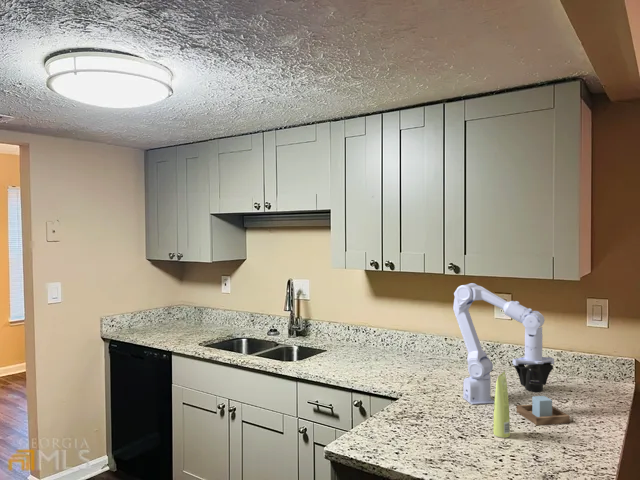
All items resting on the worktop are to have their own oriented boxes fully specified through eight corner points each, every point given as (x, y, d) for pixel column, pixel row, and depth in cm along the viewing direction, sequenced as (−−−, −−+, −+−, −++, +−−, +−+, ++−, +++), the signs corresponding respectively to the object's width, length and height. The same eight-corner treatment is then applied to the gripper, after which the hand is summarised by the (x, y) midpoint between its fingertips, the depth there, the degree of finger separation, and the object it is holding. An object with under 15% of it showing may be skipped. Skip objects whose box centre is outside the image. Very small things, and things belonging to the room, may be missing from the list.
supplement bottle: (532, 393, 192) (532, 362, 192) (521, 387, 198) (521, 358, 198) (547, 391, 194) (547, 361, 193) (535, 386, 200) (535, 357, 200)
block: (539, 418, 165) (539, 400, 165) (532, 413, 169) (532, 396, 169) (552, 417, 165) (552, 400, 165) (544, 412, 170) (544, 395, 170)
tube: (489, 431, 156) (489, 370, 156) (504, 430, 156) (504, 370, 156) (497, 438, 150) (497, 376, 150) (513, 438, 151) (513, 375, 150)
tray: (536, 425, 160) (536, 418, 160) (516, 411, 172) (516, 405, 172) (569, 422, 162) (569, 416, 162) (547, 409, 174) (547, 403, 174)
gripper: (520, 349, 167) (520, 389, 167) (559, 348, 169) (559, 387, 169) (509, 345, 174) (509, 382, 174) (547, 343, 176) (546, 380, 176)
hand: (533, 384), depth 172 cm, fingers open, 7 cm apart
